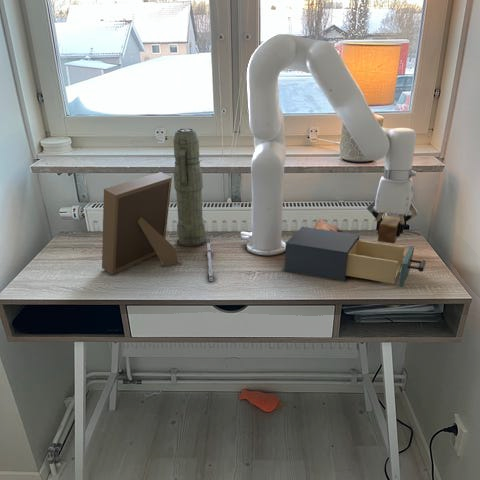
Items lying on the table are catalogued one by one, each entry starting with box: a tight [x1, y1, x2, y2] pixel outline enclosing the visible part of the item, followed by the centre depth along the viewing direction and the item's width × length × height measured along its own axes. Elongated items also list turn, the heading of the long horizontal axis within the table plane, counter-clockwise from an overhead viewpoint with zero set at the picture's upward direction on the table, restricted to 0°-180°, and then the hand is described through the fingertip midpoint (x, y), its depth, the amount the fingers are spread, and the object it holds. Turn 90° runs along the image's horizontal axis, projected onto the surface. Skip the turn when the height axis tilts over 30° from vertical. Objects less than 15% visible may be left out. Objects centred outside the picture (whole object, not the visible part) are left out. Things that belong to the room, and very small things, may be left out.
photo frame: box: [101, 171, 179, 275], centre depth 149 cm, size 15×22×25 cm
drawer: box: [345, 239, 427, 288], centre depth 145 cm, size 21×13×7 cm, turn 66°
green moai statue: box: [172, 128, 206, 247], centre depth 163 cm, size 9×12×35 cm
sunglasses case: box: [314, 218, 340, 232], centre depth 172 cm, size 18×7×7 cm
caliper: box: [206, 235, 214, 282], centre depth 152 cm, size 20×1×6 cm, turn 5°
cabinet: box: [284, 226, 360, 282], centre depth 151 cm, size 18×15×9 cm
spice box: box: [377, 215, 400, 244], centre depth 158 cm, size 5×8×6 cm, turn 156°
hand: (389, 233), depth 158 cm, fingers closed on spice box, 5 cm apart
